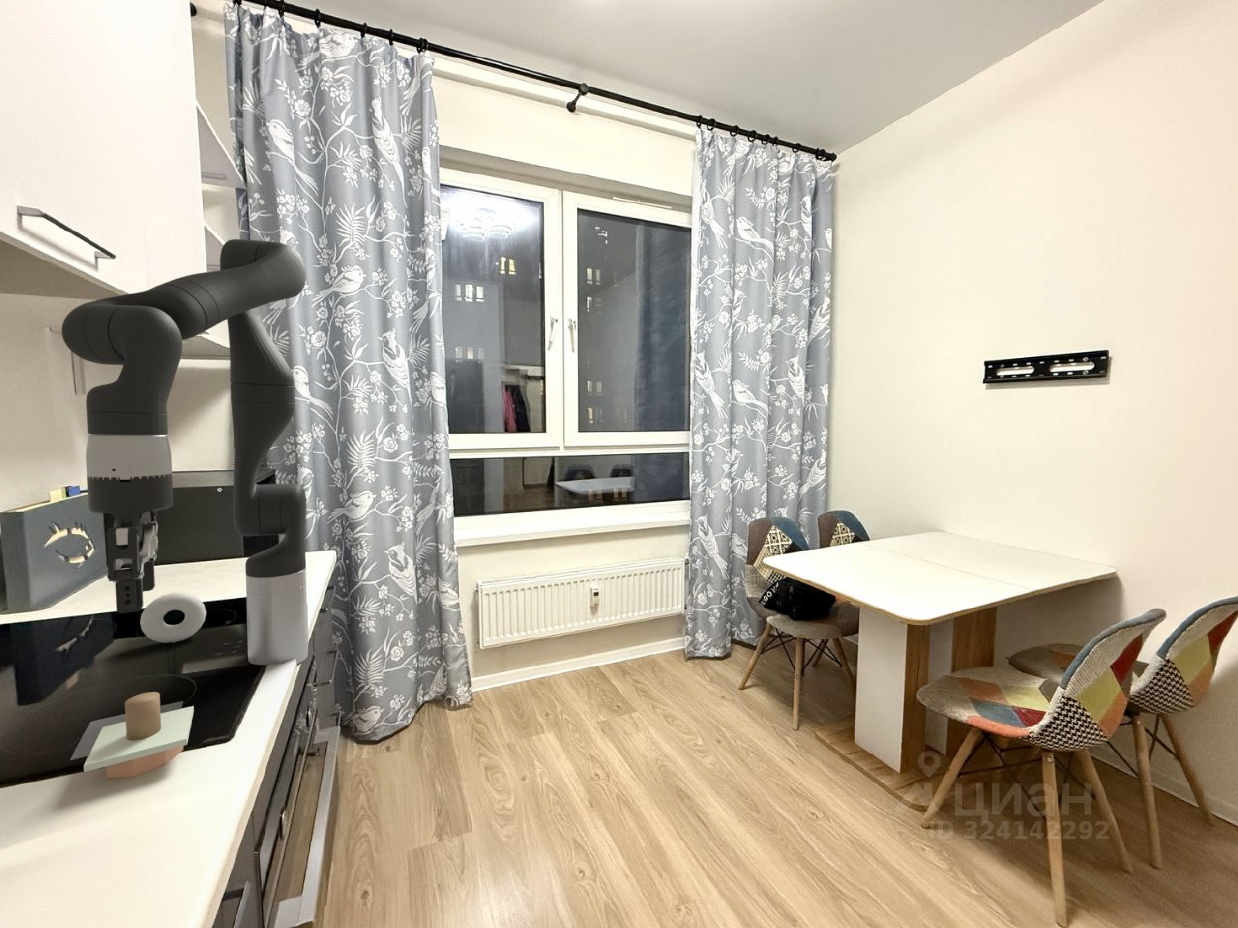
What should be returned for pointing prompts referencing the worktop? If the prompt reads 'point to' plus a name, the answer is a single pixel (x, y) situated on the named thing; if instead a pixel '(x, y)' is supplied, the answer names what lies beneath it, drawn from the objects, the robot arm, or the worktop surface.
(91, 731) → the mat
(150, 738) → the lid
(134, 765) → the pink hollow octagonal piece
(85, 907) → the worktop surface
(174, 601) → the donut
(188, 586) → the worktop surface
